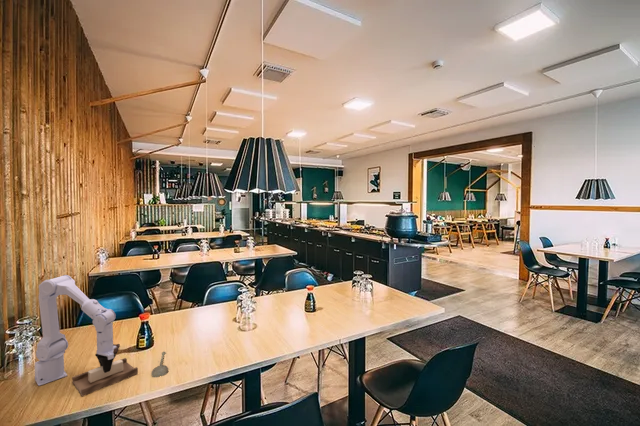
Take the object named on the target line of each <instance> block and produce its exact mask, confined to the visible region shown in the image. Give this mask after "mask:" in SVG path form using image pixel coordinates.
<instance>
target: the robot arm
mask: <svg viewBox="0 0 640 426" xmlns="http://www.w3.org/2000/svg"><path fill="white" fill-rule="evenodd" d="M38 290H39V291H38V292H39V293H38V303H39V310H40V311H39V313H40V321H41V322H40V323H41V332H42V337H41V338H40V340H39V341H38V343H37V344H36V351H35V356H36V358H37V360H38V361H35V362H34V381H35V382H36V385H37V386H38V387H40V386H43V385H46V384H49V383H51V382H54V381H57V380H59V379H63V378H66V377H67V376H68V374H67V372H66V371H65V359H64V358H65V355H64V354H65V353H66V351H67V349H69V348H68V347H69V342H68V340H67V338H66V334H64V333H62V332H61V330H60V323H59V313H58V304H57V298H58V296H61V295H67V296H68V297H69V298H71V299H72V300H73V301H75V302H76V303H78V304H79V305H80V306H81V308H80V309H81V311H82V312H83V313H84V314H86V315H87V316H88V317H89V318H91V320H92V325H93V327H94V328H95V331H96V353H95V357H96V358H97V360H98V363H99V367H101V366H103V371H104V373H106V372H109V371H110V370H111V366H112V362H114V361H115V358H116V355H117V354H114V353H113V351H114V349H115V348H116V346H113V344H114V326H113V324H114V323H113V322H114V321H115V319H116V316H117V315H116V313H115V311H114V310H113V309H111V308H106V307H104V306H103V305H101V304H100V302H99V301H98V300H97V299H94V298H91V299H90V298H89V297H88V296H87V295H86V294H85V293H84V292H83V291H82V290H81V288H79V287H78V286H77V285H76V281H75V279H73V278H72V276H70V275H68V274H64V275H61V276H58V277H54V278H51V279H45V280H43V281H42V282H41V283H40V284H39V285H38Z"/></svg>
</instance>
